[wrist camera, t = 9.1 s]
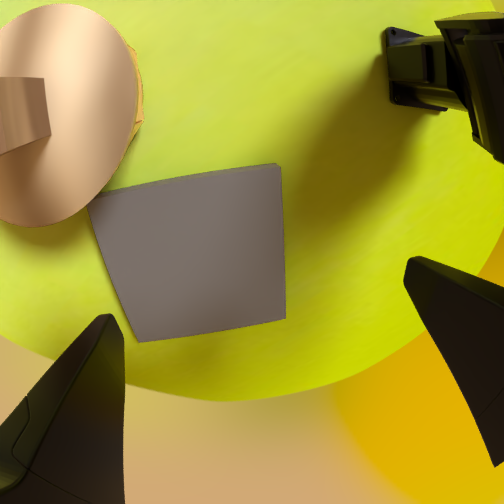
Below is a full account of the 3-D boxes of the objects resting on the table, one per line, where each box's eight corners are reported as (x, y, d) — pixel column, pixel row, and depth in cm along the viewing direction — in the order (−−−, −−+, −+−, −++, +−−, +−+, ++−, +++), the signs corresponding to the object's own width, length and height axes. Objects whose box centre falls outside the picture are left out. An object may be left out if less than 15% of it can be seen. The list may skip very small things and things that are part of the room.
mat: (275, 163, 19) (280, 166, 18) (282, 309, 26) (285, 318, 25) (90, 195, 18) (85, 201, 17) (140, 333, 24) (139, 342, 23)
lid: (131, -20, 8) (107, -65, 4) (156, 193, 14) (140, 238, 10) (-40, 64, 7) (-93, 69, 2) (-8, 235, 13) (-50, 280, 8)
